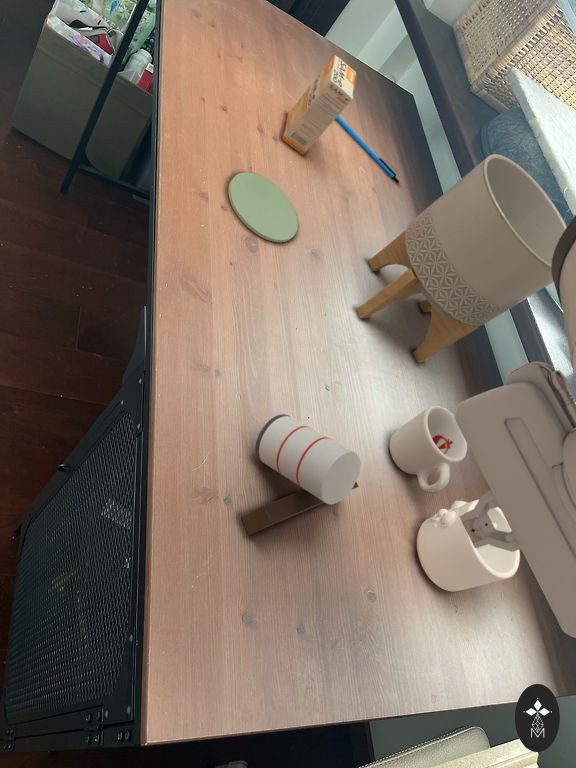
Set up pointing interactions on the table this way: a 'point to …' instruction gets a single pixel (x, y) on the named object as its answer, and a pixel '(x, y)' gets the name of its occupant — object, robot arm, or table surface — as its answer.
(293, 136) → the supplement box
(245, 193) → the coaster
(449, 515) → the mug
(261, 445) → the white striped cylinder
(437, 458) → the cup
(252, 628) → the table surface
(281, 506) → the rail
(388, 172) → the pen
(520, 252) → the planter
